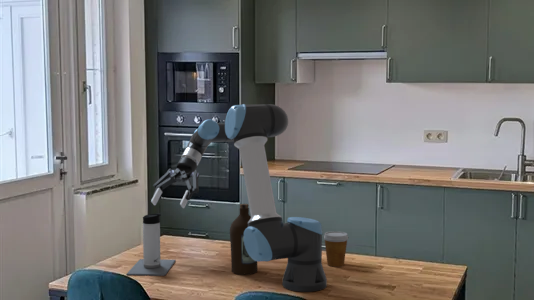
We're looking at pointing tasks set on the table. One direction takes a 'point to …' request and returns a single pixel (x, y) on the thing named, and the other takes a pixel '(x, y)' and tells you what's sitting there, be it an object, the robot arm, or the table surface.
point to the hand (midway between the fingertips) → (167, 204)
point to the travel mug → (151, 240)
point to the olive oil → (241, 244)
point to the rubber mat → (160, 271)
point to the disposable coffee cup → (335, 248)
